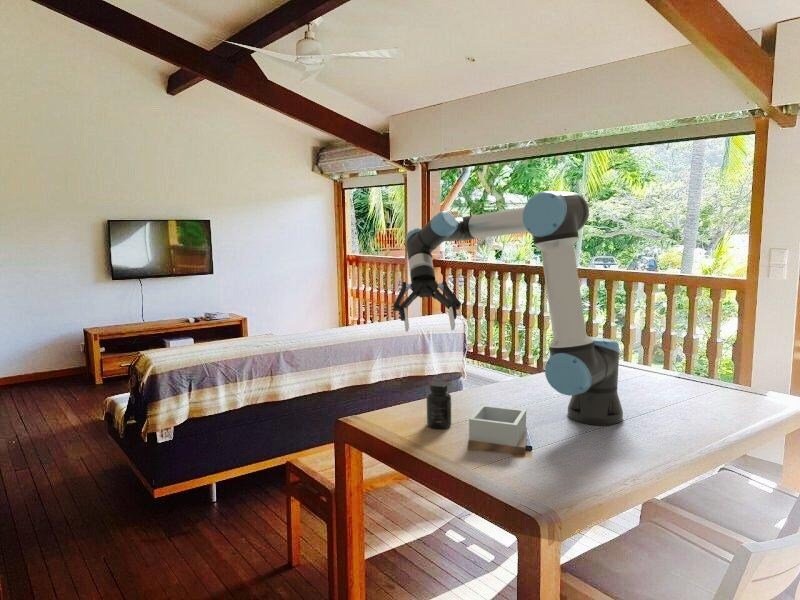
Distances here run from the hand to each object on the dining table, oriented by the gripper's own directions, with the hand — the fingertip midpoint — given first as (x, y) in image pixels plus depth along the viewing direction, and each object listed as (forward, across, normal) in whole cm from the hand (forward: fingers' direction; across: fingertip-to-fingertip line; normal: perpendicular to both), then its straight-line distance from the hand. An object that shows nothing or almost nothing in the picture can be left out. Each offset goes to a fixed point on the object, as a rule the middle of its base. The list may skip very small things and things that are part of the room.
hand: (430, 328), depth 173 cm
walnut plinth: (+36, -13, 0) cm, 38 cm away
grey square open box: (+34, -13, +1) cm, 37 cm away
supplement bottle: (+26, 0, -10) cm, 28 cm away
